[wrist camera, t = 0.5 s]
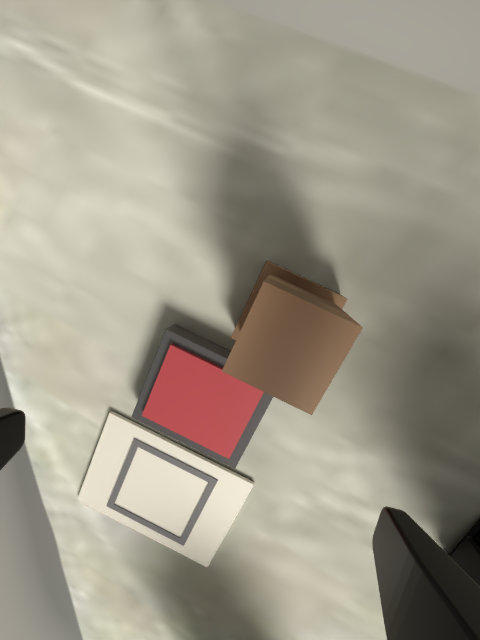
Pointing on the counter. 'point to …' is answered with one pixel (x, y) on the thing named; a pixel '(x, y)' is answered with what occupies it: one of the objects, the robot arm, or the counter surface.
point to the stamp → (291, 338)
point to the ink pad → (200, 397)
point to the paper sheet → (163, 489)
